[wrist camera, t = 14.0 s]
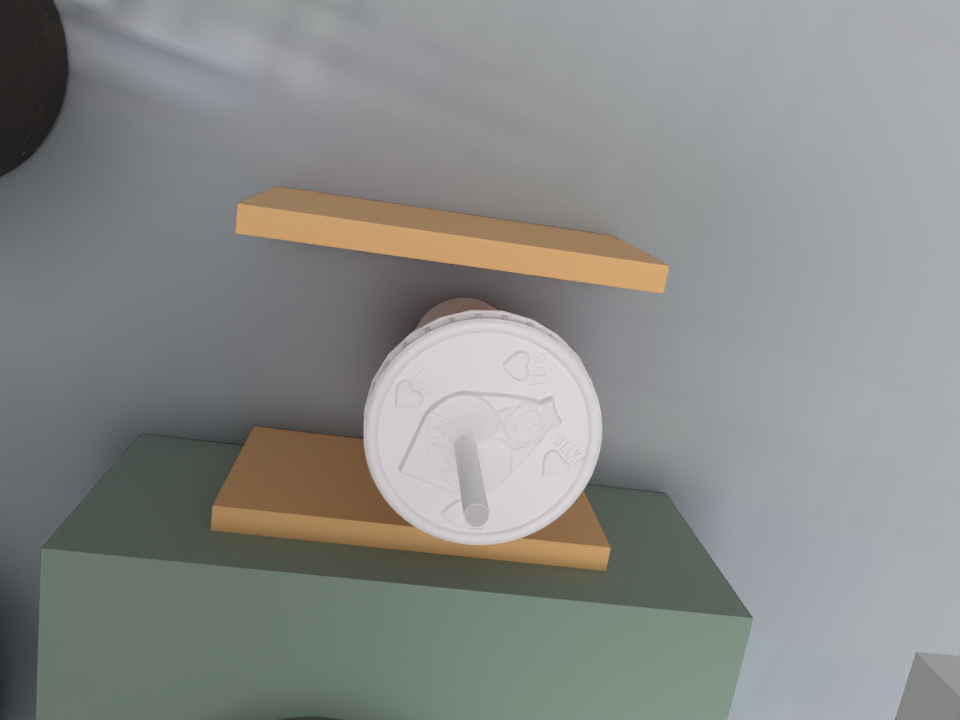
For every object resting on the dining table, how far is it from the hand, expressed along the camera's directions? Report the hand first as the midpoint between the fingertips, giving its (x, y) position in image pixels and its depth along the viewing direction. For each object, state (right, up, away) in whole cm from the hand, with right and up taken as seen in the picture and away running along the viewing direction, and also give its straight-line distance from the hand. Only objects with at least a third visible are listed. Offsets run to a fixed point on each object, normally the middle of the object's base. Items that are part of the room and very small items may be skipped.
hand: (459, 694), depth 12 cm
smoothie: (0, +5, +20) cm, 21 cm away
